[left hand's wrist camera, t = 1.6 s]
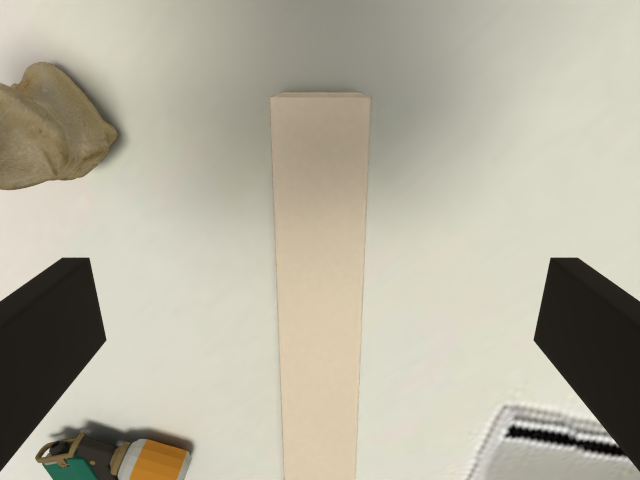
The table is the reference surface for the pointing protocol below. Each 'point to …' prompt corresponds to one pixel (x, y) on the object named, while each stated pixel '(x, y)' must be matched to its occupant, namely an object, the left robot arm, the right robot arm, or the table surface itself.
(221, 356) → the table surface
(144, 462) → the spray gun
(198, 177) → the table surface
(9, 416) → the left robot arm
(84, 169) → the sculpture
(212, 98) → the table surface
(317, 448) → the beam
